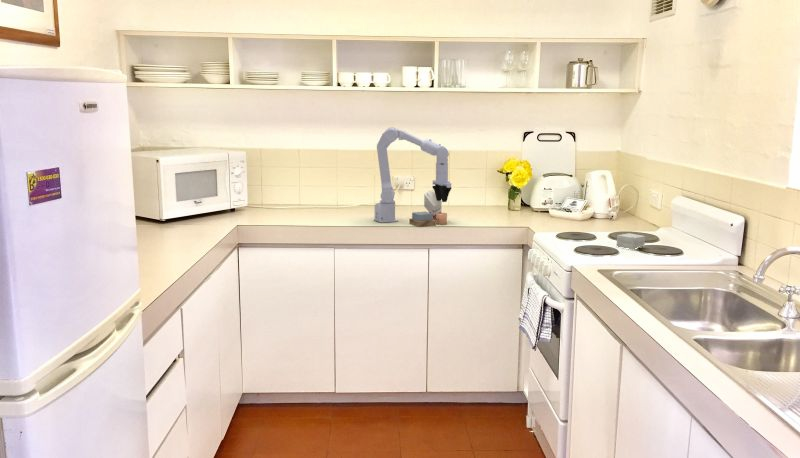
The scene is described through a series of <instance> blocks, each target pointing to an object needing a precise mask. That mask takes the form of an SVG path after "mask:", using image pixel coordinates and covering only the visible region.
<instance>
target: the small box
mask: <svg viewBox="0 0 800 458" xmlns="http://www.w3.org/2000/svg"><path fill="white" fill-rule="evenodd" d="M645 242H646V236H645V235H641V234H637V233H636V234H635V233H631V232H628V233H623V234H617V236H616V247H617V246H618V247H617V248H619V247H624V248H629V249H635V248H637V247H639V246H643V245H644V246H645ZM624 248H623V249H624ZM629 249H628V250H629Z"/></svg>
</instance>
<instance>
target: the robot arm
mask: <svg viewBox="0 0 800 458" xmlns="http://www.w3.org/2000/svg"><path fill="white" fill-rule="evenodd" d="M397 139H398V141H403V140H404V141H407V142H410V144H413V145H416V146H419V147H420V150H421V151H423V152H424V153H427V154H429V155H431V156H433V157H434V156H435V157H436V163H435V179H434V180H432V190H433V192H434V193H435V195H436V199H437V201H440V200H441V201H442V203H447V201H448V197H449V195H450V192H451V190H452V183H451V181H449V162H448V161H449V159H448V157H449V156H450V153H449V150H448V149H447V148H446V147H445V146H443V145H441V144H440V143H439V144H438V143H436V142H435V141H434V142H433V140H432V139H431V138H429V139H427V138H425V139H421V138H419V137H417V136H415V135H413V134H411V133H409V132H407V131H405V130H402V129H399V128H396V127H394V126H393V127H392V126H391V127H388V128H387V129H386V130H384V132H383V133H382V134H381V136H380V138H379V140H378V142H377V144H376V152H377V159H378V160H377V161H378V167H379V175H380V181H381V182H380V183H381V193H380V199H381V200H379V202H377V203H375V205H374V219H373V221H375V222H378V223H390V222H391V223H393V222H394V223H395V222H399V220H398V219H396V201H395V200H394V198H395V195H396V193H395V190H394V189H393V185H392V178H391V174H390V173H391V171H390V164H389V156H388V148H389V146H390V145H391V144H392V143H394V142H395V141H396V140H397Z"/></svg>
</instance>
